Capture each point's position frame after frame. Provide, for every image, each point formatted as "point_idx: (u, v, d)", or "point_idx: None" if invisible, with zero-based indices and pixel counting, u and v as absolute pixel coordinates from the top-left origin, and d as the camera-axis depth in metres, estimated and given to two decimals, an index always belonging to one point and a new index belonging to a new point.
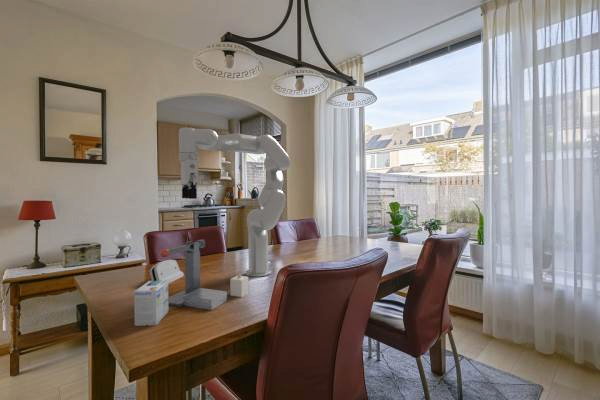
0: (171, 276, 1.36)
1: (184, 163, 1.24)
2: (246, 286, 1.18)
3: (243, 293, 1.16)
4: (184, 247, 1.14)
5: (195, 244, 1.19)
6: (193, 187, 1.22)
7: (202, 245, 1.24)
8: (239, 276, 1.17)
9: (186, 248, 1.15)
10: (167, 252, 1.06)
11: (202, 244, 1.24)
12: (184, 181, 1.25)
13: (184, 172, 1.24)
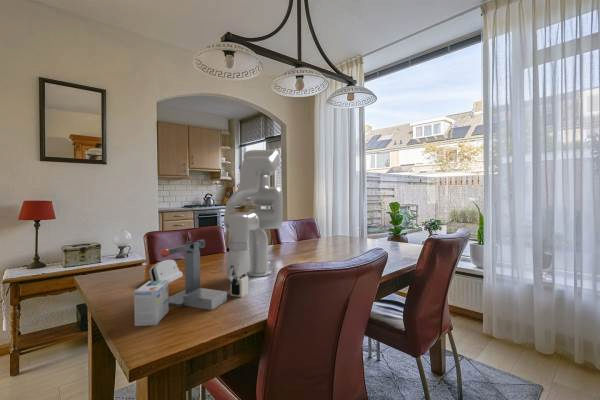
0: (170, 276, 1.36)
1: (247, 251, 1.19)
2: (246, 286, 1.18)
3: (243, 293, 1.16)
4: (184, 247, 1.14)
5: (195, 244, 1.19)
6: None
7: (202, 245, 1.24)
8: None
9: (186, 248, 1.15)
10: (167, 252, 1.06)
11: (202, 244, 1.24)
12: (245, 271, 1.18)
13: (247, 261, 1.19)
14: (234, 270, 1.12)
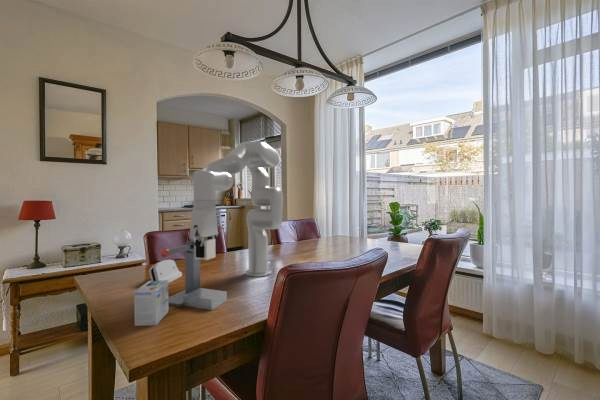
0: (170, 276, 1.36)
1: (214, 212, 1.09)
2: (213, 249, 1.08)
3: (208, 256, 1.06)
4: (184, 247, 1.14)
5: None
6: None
7: None
8: (205, 238, 1.07)
9: (186, 248, 1.15)
10: (167, 252, 1.06)
11: None
12: (212, 232, 1.08)
13: (214, 222, 1.09)
14: (197, 230, 1.02)
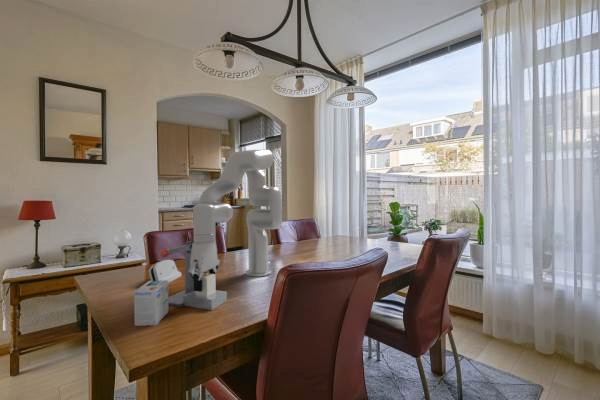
0: (169, 276, 1.36)
1: (214, 245, 1.09)
2: (213, 284, 1.08)
3: (209, 292, 1.06)
4: (184, 247, 1.14)
5: None
6: None
7: None
8: (205, 274, 1.08)
9: (186, 248, 1.15)
10: (167, 252, 1.06)
11: None
12: (212, 266, 1.08)
13: (214, 255, 1.09)
14: (197, 265, 1.03)
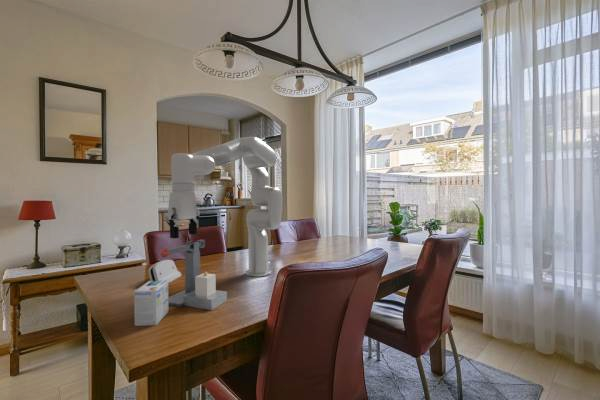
0: (169, 276, 1.36)
1: (193, 195, 1.09)
2: (213, 284, 1.08)
3: (209, 292, 1.06)
4: (184, 247, 1.14)
5: (195, 244, 1.19)
6: None
7: (202, 245, 1.24)
8: (205, 274, 1.08)
9: (186, 248, 1.15)
10: (167, 252, 1.06)
11: (202, 244, 1.24)
12: (190, 216, 1.08)
13: (192, 205, 1.09)
14: (175, 212, 1.03)
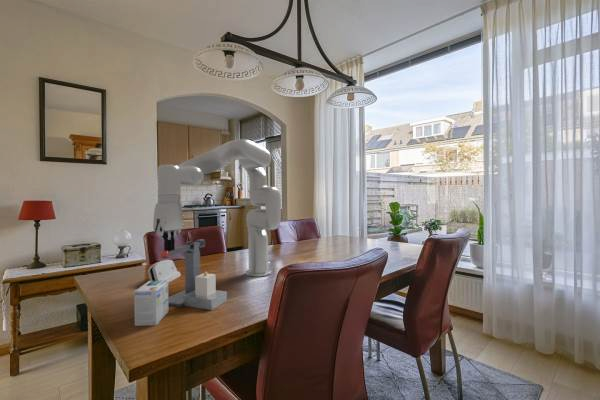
0: (169, 276, 1.36)
1: (179, 206, 1.09)
2: (213, 284, 1.08)
3: (209, 292, 1.06)
4: (184, 247, 1.14)
5: (195, 244, 1.19)
6: None
7: (202, 244, 1.24)
8: (205, 274, 1.08)
9: (186, 248, 1.15)
10: (167, 254, 1.06)
11: (202, 244, 1.24)
12: (176, 227, 1.09)
13: (178, 216, 1.09)
14: (160, 223, 1.03)
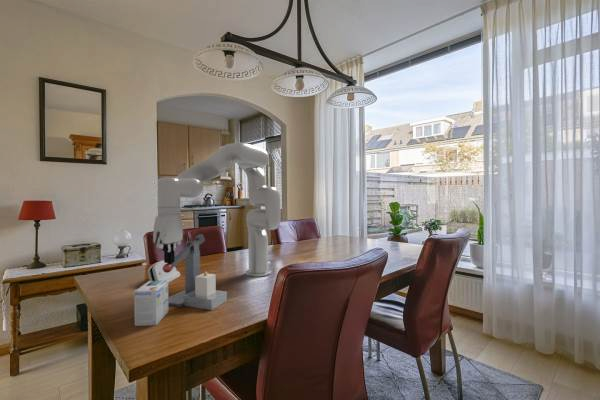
0: (169, 276, 1.36)
1: (178, 218, 1.10)
2: (213, 284, 1.08)
3: (209, 292, 1.06)
4: (185, 253, 1.15)
5: (195, 244, 1.19)
6: None
7: (202, 240, 1.24)
8: (205, 274, 1.08)
9: (187, 252, 1.16)
10: (170, 268, 1.07)
11: (201, 240, 1.24)
12: (176, 239, 1.09)
13: (178, 229, 1.10)
14: (160, 236, 1.03)
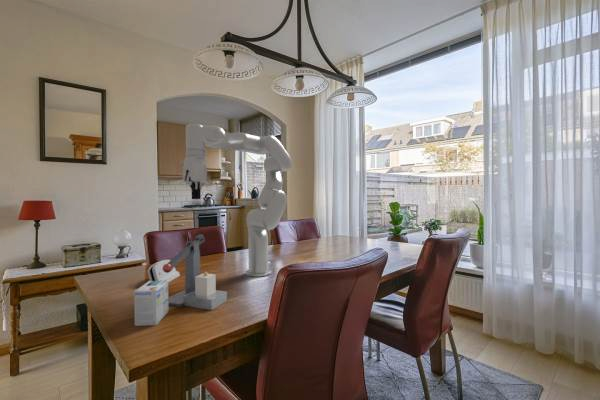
0: (168, 276, 1.36)
1: (204, 161, 1.26)
2: (213, 284, 1.08)
3: (209, 292, 1.06)
4: (185, 253, 1.15)
5: (195, 244, 1.19)
6: None
7: (202, 240, 1.24)
8: (205, 274, 1.08)
9: (187, 252, 1.16)
10: (170, 268, 1.07)
11: (201, 240, 1.24)
12: (202, 178, 1.25)
13: (203, 170, 1.26)
14: (189, 174, 1.19)
